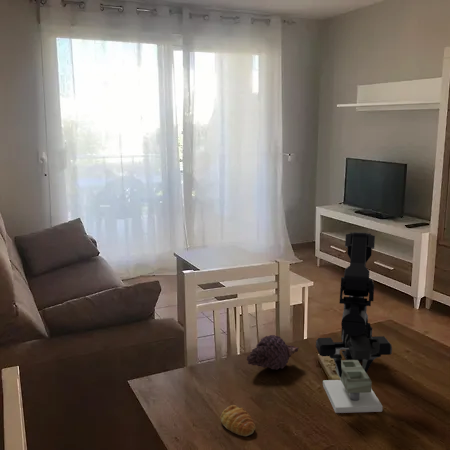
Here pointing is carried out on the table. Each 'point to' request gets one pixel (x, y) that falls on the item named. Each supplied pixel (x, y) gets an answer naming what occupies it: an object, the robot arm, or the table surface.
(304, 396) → the table surface
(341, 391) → the post board
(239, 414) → the pastry
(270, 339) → the pine cone
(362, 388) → the bar
